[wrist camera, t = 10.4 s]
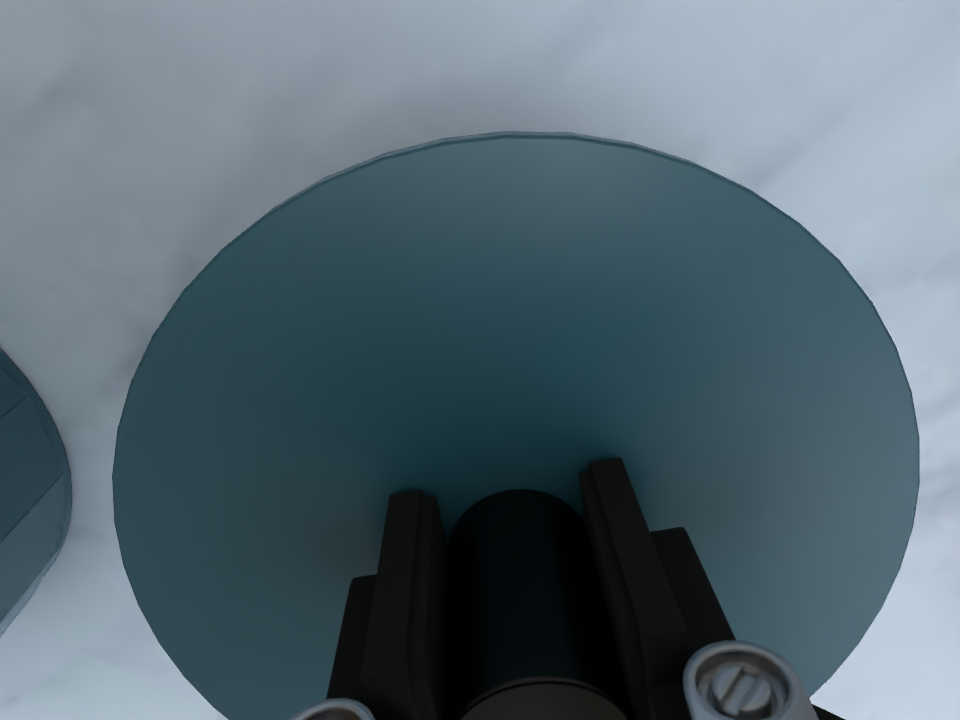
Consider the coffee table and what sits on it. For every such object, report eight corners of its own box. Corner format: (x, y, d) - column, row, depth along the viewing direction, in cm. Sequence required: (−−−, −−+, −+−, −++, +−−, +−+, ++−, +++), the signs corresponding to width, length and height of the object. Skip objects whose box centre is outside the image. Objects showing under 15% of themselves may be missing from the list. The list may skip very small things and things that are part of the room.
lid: (263, 803, 17) (185, 1101, 12) (8, 213, 11) (-314, 334, 7) (871, 718, 16) (1040, 998, 11) (907, 47, 11) (1257, 53, 6)
